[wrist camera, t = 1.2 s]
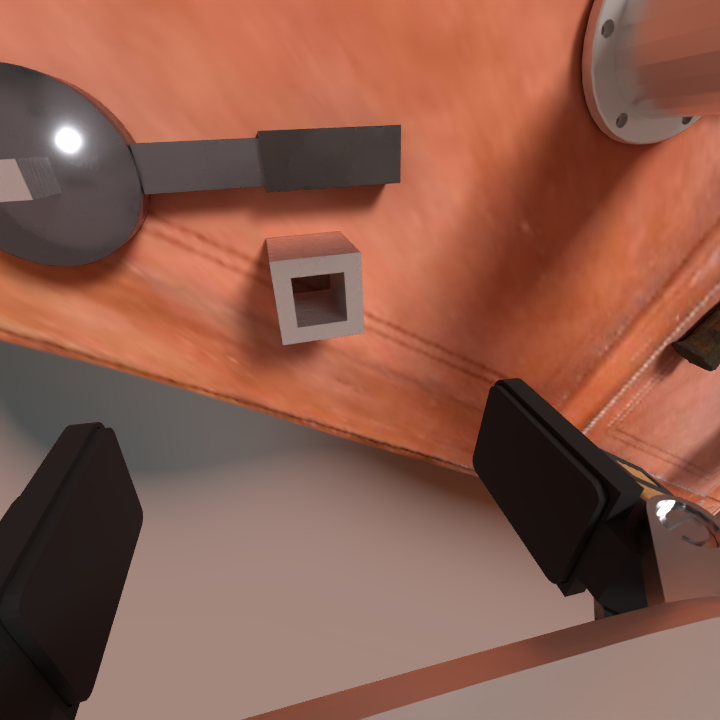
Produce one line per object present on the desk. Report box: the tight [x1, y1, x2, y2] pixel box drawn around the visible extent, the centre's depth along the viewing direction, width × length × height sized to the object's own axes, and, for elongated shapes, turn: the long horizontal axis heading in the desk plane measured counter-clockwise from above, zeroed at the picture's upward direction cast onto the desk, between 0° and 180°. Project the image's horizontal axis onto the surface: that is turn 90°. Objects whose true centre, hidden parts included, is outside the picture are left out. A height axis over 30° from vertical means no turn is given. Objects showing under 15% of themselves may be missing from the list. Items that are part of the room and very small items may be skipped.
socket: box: [266, 231, 364, 345], centre depth 24 cm, size 5×5×6 cm
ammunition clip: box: [599, 448, 674, 502], centre depth 43 cm, size 11×2×12 cm, turn 58°
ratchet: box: [0, 62, 401, 266], centre depth 20 cm, size 24×9×6 cm, turn 92°
